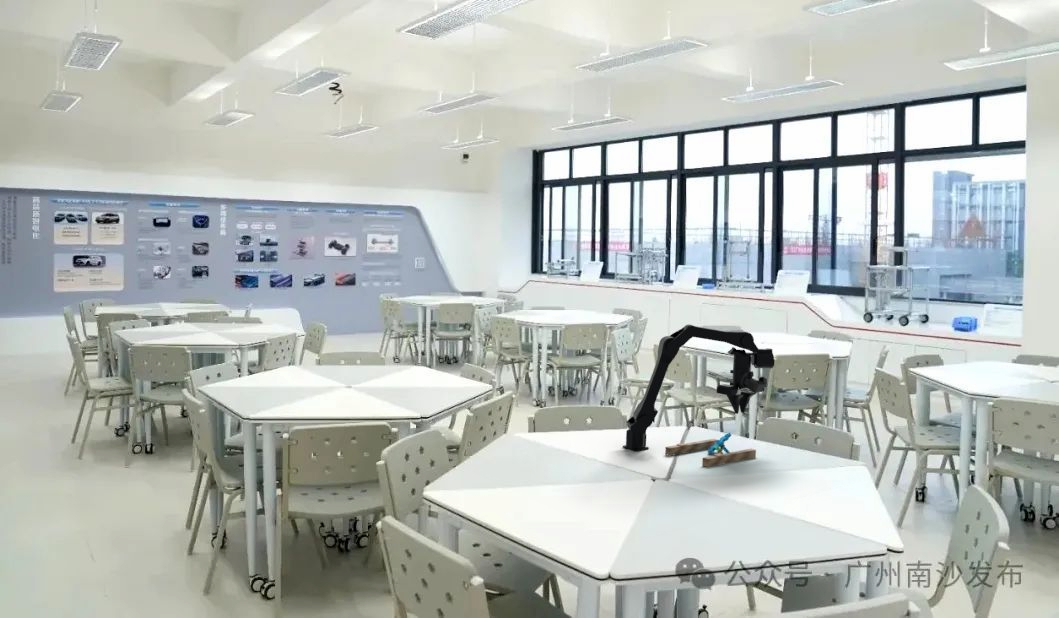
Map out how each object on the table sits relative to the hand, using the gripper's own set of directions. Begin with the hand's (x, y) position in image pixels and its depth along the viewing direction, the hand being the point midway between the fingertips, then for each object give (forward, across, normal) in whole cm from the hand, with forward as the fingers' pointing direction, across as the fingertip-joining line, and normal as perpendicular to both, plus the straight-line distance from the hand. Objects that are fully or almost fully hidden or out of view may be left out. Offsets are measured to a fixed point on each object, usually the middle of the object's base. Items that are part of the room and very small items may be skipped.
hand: (739, 413), depth 273 cm
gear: (+13, -10, 0) cm, 17 cm away
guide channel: (+13, -14, 0) cm, 19 cm away
